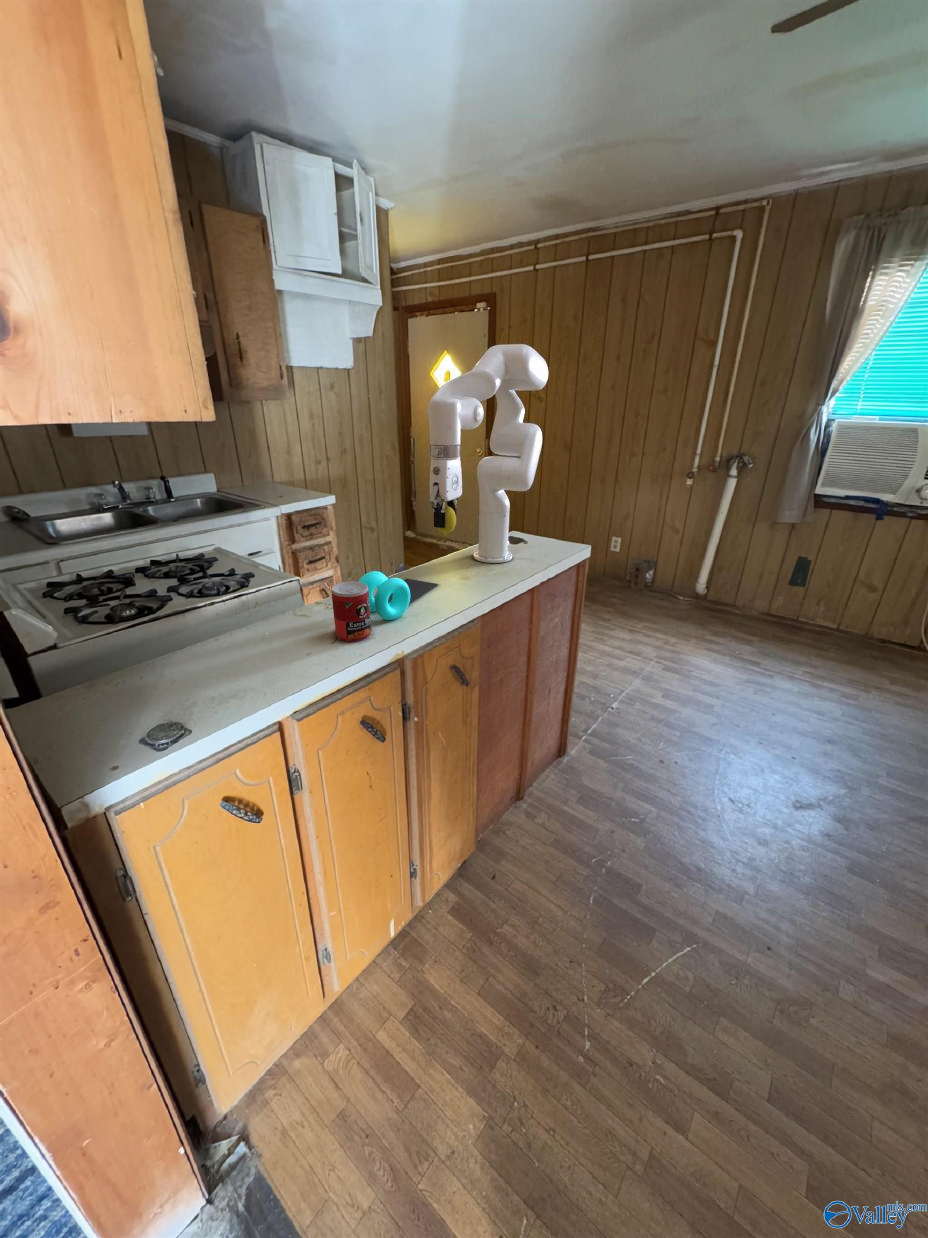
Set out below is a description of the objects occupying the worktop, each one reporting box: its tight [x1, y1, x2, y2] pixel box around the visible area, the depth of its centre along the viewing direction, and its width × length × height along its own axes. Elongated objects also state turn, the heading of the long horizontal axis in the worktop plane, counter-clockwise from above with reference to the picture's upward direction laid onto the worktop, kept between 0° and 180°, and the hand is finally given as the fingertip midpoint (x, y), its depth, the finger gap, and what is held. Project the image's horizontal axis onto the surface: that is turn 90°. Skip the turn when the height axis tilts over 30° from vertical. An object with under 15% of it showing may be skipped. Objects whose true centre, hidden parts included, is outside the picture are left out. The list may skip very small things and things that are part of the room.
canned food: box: [330, 580, 372, 642], centre depth 108 cm, size 8×8×11 cm
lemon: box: [435, 504, 457, 536], centre depth 130 cm, size 6×6×8 cm
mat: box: [388, 578, 439, 605], centre depth 134 cm, size 18×10×1 cm, turn 155°
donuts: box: [358, 570, 410, 621], centre depth 118 cm, size 10×10×10 cm
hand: (445, 524), depth 131 cm, fingers closed on lemon, 5 cm apart
